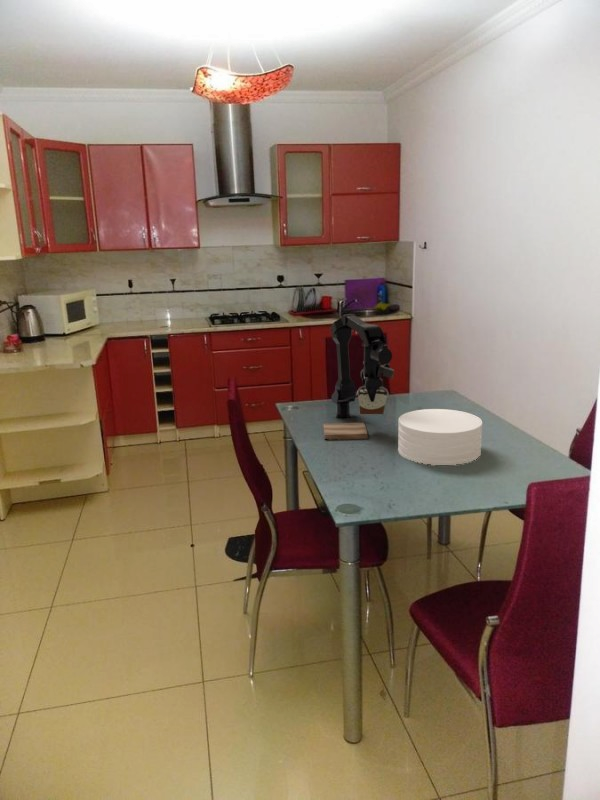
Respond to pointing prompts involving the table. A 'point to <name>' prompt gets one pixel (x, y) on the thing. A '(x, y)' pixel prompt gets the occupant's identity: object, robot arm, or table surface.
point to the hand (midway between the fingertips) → (371, 399)
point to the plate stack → (439, 436)
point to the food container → (372, 407)
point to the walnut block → (345, 431)
